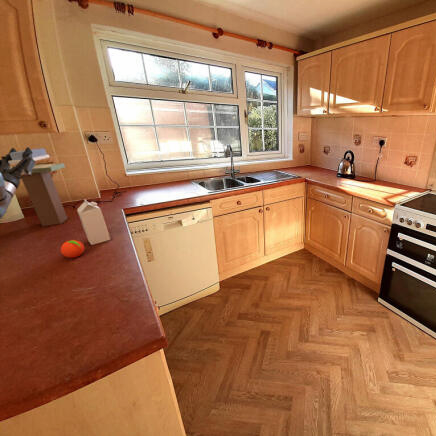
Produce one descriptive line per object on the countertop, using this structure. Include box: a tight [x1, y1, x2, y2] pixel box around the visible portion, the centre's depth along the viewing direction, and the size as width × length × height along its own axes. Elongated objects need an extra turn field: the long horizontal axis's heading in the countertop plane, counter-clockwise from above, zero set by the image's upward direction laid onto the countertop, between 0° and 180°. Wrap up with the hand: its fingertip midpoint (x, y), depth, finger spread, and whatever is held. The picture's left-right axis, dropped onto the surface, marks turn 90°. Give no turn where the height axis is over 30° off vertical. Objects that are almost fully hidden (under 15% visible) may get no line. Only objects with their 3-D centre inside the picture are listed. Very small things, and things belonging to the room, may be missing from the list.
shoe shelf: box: [10, 162, 68, 227], centre depth 126 cm, size 15×20×30 cm
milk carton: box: [76, 198, 111, 246], centre depth 107 cm, size 7×7×19 cm
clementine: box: [60, 239, 85, 259], centre depth 96 cm, size 8×7×7 cm
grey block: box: [8, 148, 50, 165], centre depth 112 cm, size 22×4×4 cm, turn 20°
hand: (22, 150), depth 108 cm, fingers closed on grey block, 4 cm apart
